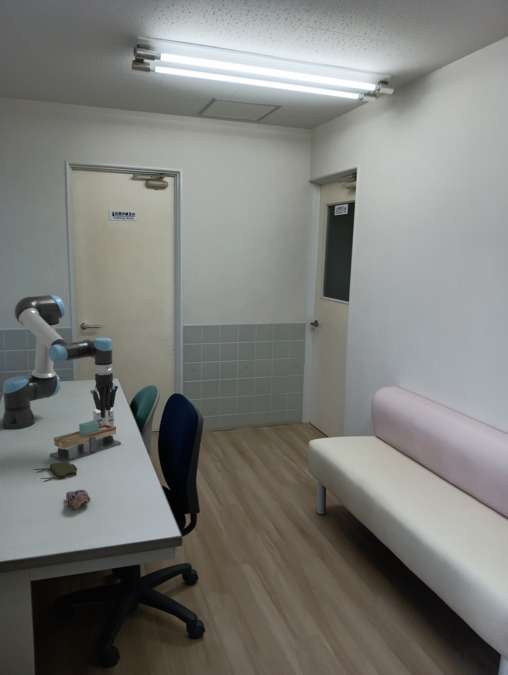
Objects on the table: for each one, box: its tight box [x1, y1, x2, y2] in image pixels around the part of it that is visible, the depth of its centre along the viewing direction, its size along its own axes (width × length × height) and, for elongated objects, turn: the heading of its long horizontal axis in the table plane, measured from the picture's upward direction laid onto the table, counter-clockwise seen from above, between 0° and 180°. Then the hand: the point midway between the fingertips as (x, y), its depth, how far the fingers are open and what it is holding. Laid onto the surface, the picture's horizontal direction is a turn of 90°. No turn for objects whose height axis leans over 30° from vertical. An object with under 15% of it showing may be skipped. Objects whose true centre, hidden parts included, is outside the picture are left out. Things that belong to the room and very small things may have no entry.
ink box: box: [92, 408, 115, 426], centre depth 241 cm, size 9×5×12 cm, turn 123°
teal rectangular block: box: [78, 419, 99, 436], centre depth 221 cm, size 4×7×5 cm, turn 141°
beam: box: [53, 424, 117, 449], centre depth 220 cm, size 8×26×3 cm, turn 140°
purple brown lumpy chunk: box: [65, 489, 91, 510], centre depth 174 cm, size 12×8×6 cm, turn 35°
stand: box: [49, 435, 122, 463], centre depth 221 cm, size 11×28×7 cm, turn 140°
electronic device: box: [32, 461, 78, 483], centre depth 198 cm, size 14×3×15 cm
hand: (105, 423), depth 227 cm, fingers closed
